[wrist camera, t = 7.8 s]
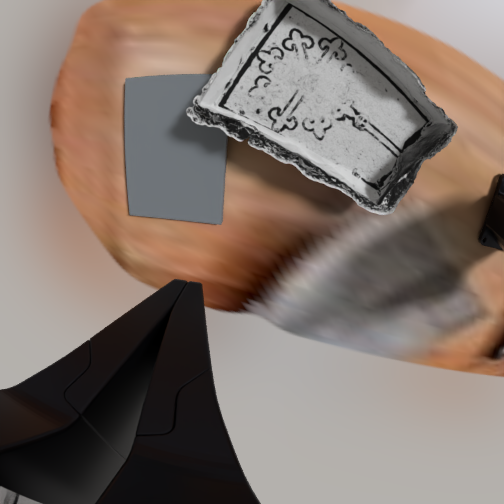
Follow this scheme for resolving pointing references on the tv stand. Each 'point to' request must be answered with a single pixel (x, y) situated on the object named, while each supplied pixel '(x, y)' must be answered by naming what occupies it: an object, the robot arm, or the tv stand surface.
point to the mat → (172, 151)
